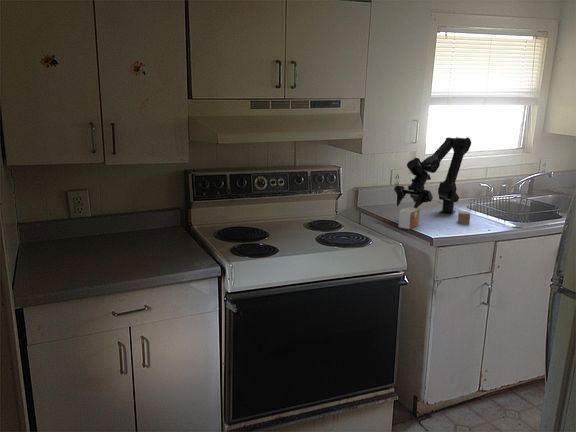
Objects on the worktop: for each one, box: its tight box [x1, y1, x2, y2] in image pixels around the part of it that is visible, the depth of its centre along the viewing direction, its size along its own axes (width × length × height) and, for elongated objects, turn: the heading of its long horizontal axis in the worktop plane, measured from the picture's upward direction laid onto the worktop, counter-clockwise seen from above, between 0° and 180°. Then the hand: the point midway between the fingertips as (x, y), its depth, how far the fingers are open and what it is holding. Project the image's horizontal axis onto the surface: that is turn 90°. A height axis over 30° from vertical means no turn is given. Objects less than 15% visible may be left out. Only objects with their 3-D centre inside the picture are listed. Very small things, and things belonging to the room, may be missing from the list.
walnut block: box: [457, 210, 471, 225], centre depth 258 cm, size 5×5×5 cm
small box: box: [397, 206, 421, 230], centre depth 249 cm, size 8×6×10 cm
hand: (405, 207), depth 256 cm, fingers open, 9 cm apart
